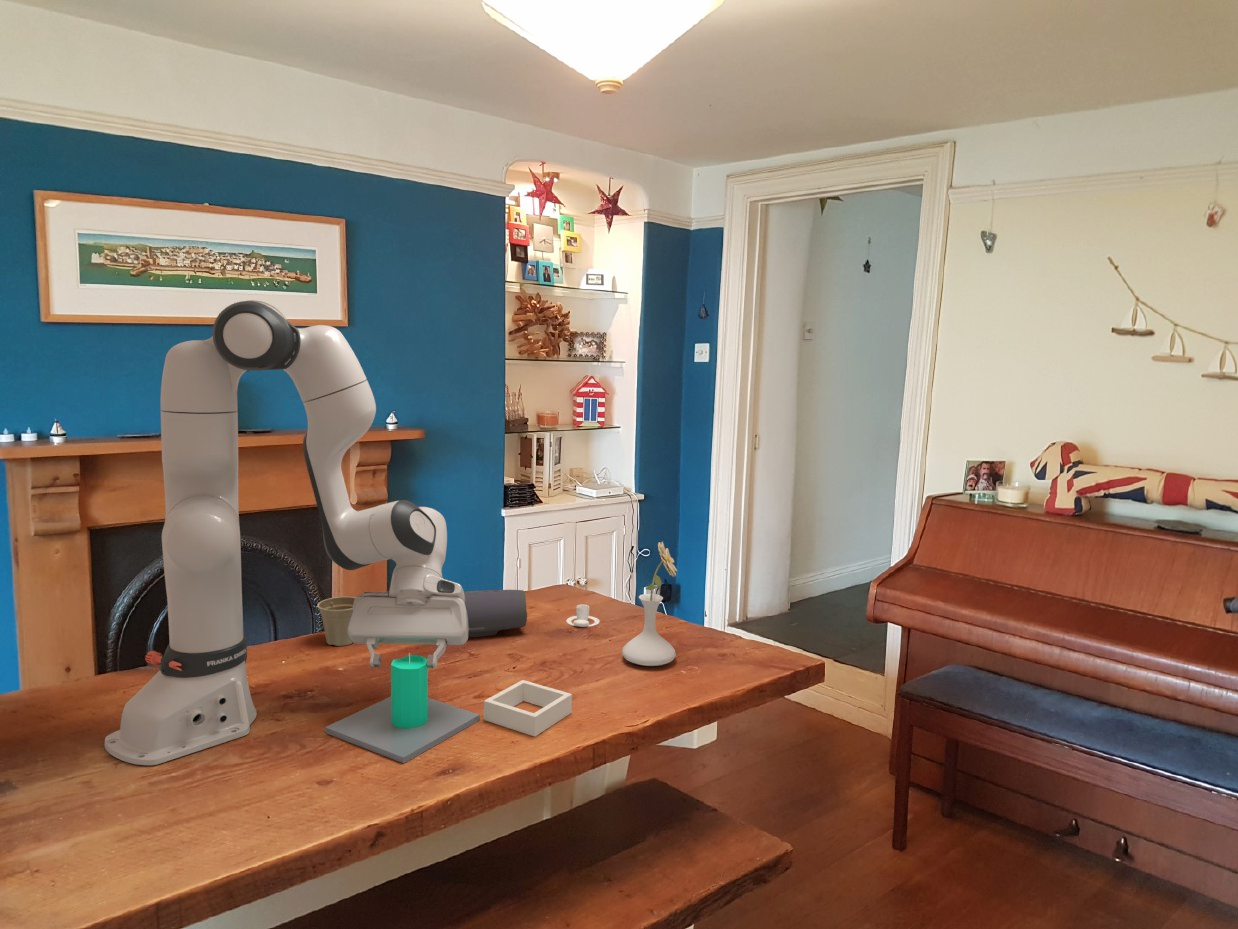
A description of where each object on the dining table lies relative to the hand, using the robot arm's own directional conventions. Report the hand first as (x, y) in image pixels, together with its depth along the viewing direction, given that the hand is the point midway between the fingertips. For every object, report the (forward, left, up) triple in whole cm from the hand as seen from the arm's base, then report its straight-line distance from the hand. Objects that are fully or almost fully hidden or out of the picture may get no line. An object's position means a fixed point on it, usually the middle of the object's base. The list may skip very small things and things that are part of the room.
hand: (403, 666), depth 137 cm
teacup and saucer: (+61, +7, -12) cm, 62 cm away
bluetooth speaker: (+41, +20, -11) cm, 47 cm away
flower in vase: (+51, -20, -11) cm, 56 cm away
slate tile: (0, 0, -11) cm, 11 cm away
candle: (+1, 0, -10) cm, 10 cm away
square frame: (+15, -15, -11) cm, 24 cm away
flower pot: (+21, +40, -11) cm, 47 cm away
